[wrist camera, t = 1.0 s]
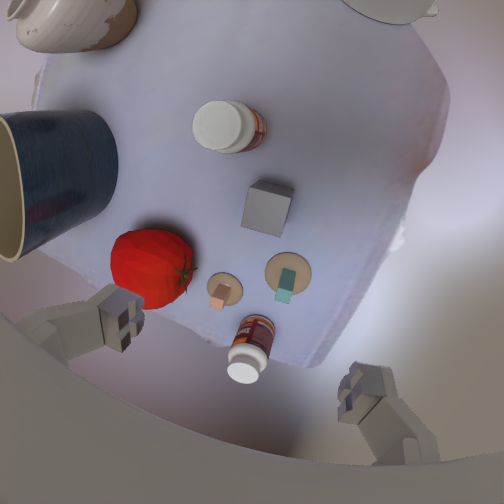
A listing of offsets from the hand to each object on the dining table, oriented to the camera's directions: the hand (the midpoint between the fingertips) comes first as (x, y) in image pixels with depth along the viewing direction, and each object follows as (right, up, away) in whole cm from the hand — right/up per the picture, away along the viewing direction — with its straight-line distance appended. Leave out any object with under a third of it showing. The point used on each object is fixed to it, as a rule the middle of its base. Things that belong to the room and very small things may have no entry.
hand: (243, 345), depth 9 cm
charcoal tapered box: (+3, +10, +28) cm, 30 cm away
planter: (-32, +20, +32) cm, 50 cm away
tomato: (-14, +3, +35) cm, 38 cm away
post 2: (+6, 0, +32) cm, 32 cm away
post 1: (-4, -3, +35) cm, 35 cm away
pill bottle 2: (+1, -10, +37) cm, 39 cm away
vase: (-24, +44, +20) cm, 54 cm away
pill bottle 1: (-1, +20, +25) cm, 32 cm away
